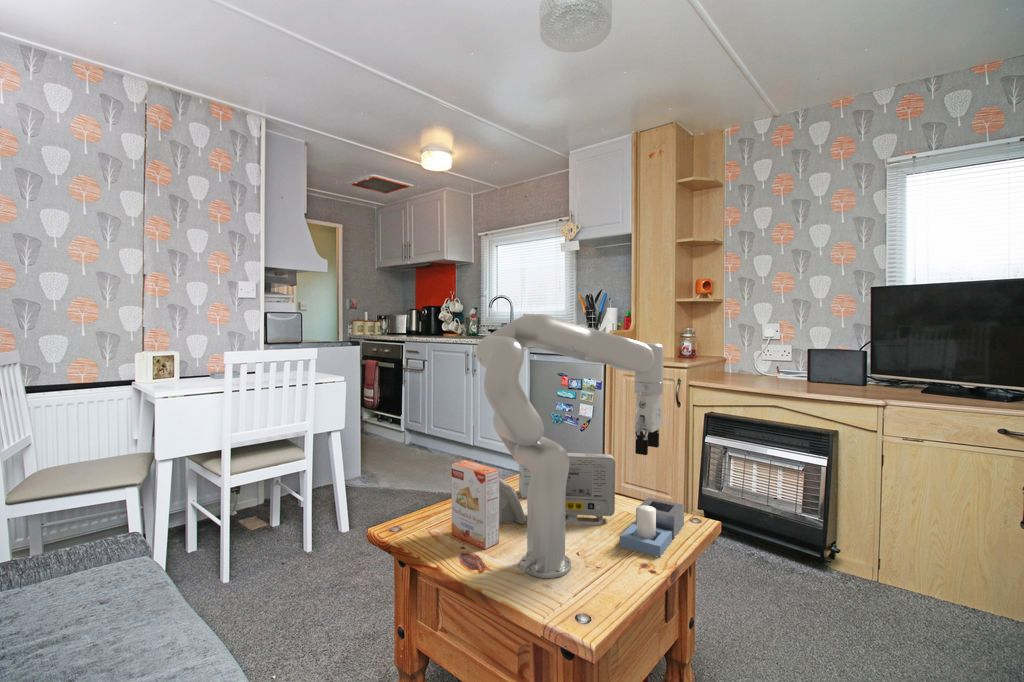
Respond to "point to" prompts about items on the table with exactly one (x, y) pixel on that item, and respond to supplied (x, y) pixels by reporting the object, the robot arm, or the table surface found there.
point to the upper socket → (667, 515)
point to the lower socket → (646, 541)
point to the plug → (646, 522)
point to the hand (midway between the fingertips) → (647, 450)
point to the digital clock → (509, 504)
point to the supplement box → (524, 481)
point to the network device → (590, 487)
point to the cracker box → (475, 503)
